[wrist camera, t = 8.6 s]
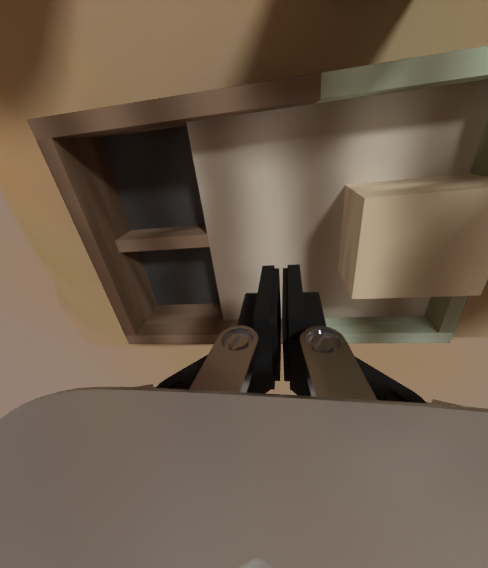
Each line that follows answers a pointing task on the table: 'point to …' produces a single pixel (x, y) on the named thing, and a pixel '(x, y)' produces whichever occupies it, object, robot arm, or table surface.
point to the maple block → (415, 237)
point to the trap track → (261, 190)
